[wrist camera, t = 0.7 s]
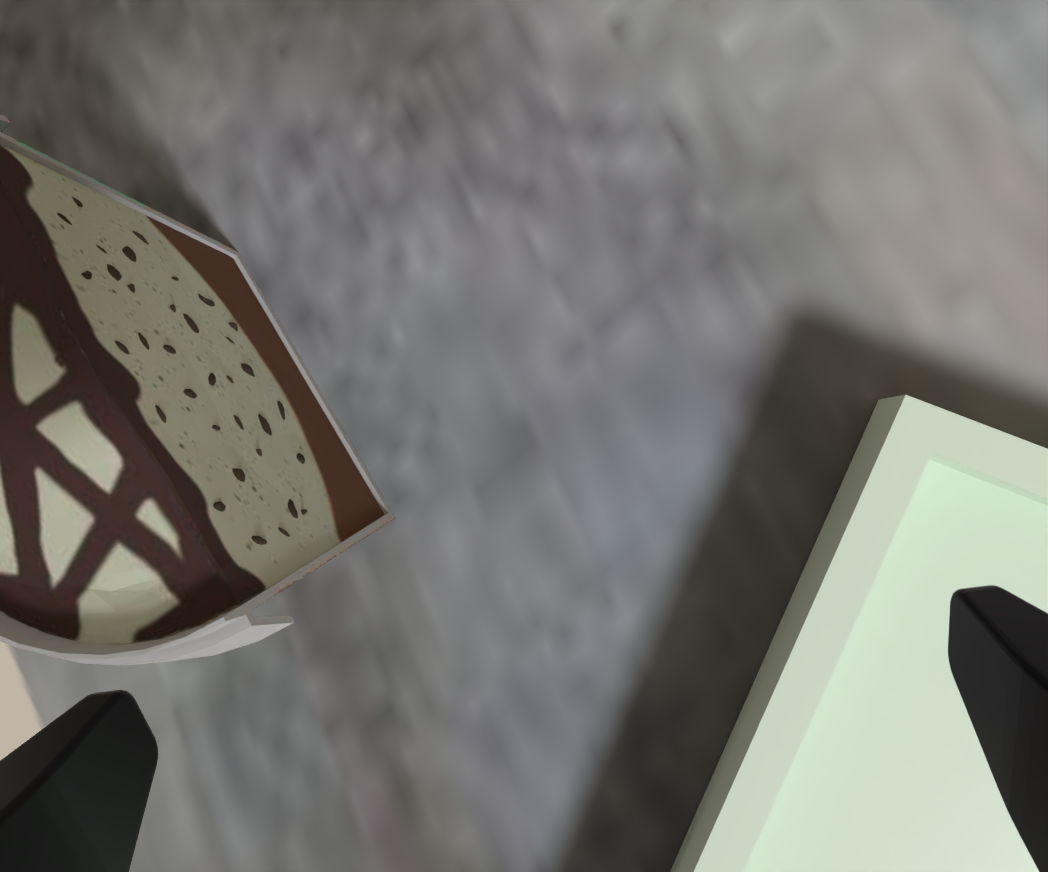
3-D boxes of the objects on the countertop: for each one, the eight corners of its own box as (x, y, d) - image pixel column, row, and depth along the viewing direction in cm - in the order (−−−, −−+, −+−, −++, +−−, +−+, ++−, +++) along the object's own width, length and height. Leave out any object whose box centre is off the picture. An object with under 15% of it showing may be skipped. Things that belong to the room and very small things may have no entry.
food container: (62, 323, 27) (-298, 261, 17) (213, 210, 26) (-80, 76, 16) (255, 666, 26) (-16, 809, 16) (422, 562, 25) (240, 647, 15)
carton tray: (1054, 1249, 22) (1110, 1377, 19) (610, 1006, 24) (597, 1086, 21) (1383, 594, 20) (1500, 621, 17) (878, 399, 22) (905, 394, 19)
